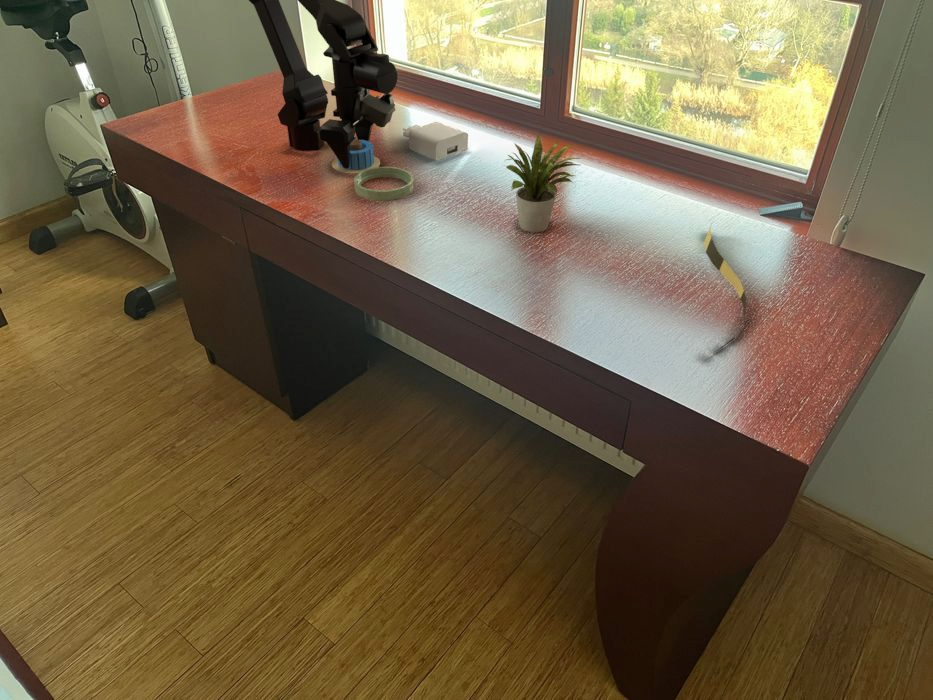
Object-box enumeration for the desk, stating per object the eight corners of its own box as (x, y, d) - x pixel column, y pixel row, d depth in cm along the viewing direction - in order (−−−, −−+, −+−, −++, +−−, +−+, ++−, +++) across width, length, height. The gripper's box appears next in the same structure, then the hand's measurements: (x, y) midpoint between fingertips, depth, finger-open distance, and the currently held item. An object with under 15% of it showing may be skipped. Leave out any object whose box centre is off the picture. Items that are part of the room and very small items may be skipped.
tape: (737, 240, 132) (743, 221, 129) (747, 369, 102) (755, 347, 100) (702, 235, 133) (708, 215, 130) (702, 361, 103) (709, 339, 101)
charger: (421, 133, 169) (467, 152, 161) (390, 144, 164) (436, 164, 156) (421, 112, 167) (468, 131, 158) (389, 123, 161) (436, 142, 153)
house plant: (537, 256, 126) (544, 165, 116) (476, 229, 133) (478, 141, 123) (586, 227, 134) (597, 140, 124) (526, 203, 142) (532, 119, 132)
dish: (345, 199, 142) (344, 186, 141) (369, 175, 151) (368, 163, 149) (401, 207, 140) (400, 195, 138) (421, 183, 148) (421, 170, 147)
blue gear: (332, 167, 152) (330, 150, 150) (347, 153, 158) (345, 137, 156) (365, 172, 150) (364, 155, 148) (379, 158, 156) (378, 141, 154)
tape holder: (323, 172, 152) (321, 148, 149) (344, 154, 159) (342, 130, 156) (369, 179, 150) (367, 154, 146) (387, 160, 157) (386, 136, 154)
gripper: (368, 103, 135) (374, 183, 145) (405, 73, 149) (408, 147, 159) (312, 96, 138) (321, 175, 147) (354, 67, 152) (360, 141, 161)
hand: (355, 159), depth 154 cm, fingers open, 9 cm apart
